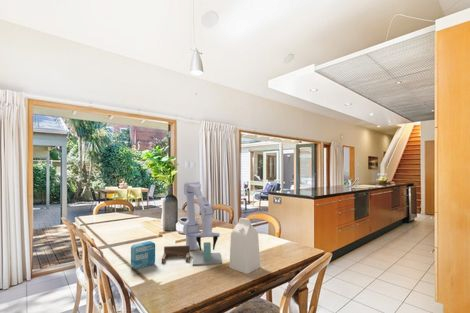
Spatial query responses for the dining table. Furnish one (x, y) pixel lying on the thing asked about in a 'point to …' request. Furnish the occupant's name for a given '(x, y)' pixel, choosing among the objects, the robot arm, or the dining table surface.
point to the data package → (142, 254)
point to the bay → (176, 252)
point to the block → (207, 251)
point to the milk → (244, 247)
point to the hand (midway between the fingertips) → (207, 249)
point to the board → (199, 260)
